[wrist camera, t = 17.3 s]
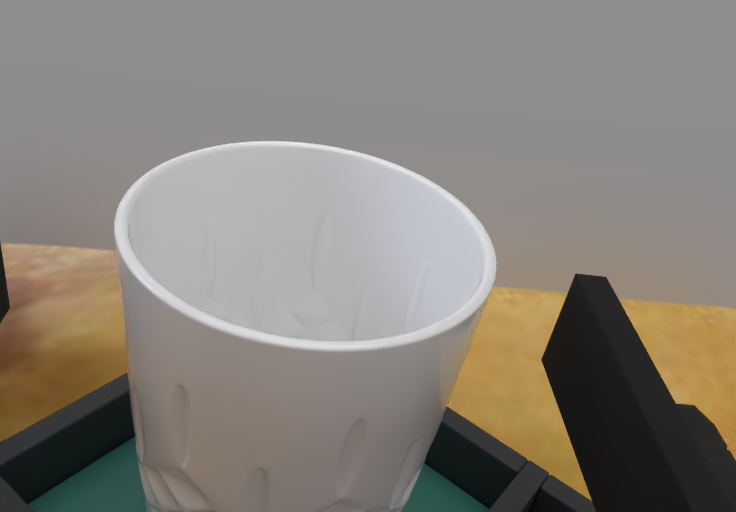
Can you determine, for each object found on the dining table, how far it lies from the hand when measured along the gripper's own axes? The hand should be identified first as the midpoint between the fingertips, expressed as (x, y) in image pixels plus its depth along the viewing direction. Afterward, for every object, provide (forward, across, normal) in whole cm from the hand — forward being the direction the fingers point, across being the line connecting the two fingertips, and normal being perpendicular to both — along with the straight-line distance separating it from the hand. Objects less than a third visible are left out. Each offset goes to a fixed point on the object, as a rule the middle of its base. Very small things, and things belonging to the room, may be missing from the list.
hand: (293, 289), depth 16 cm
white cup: (0, 0, -8) cm, 8 cm away
